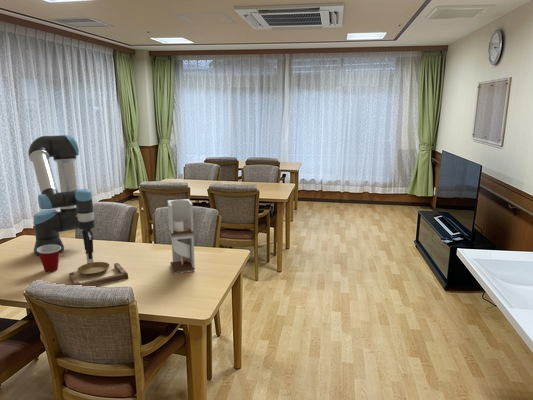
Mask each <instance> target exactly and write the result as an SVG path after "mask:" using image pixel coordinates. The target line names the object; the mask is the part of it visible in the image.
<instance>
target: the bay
mask: <svg viewBox="0 0 533 400" xmlns="http://www.w3.org/2000/svg"><path fill="white" fill-rule="evenodd" d="M113 266H114V267H113V268H114V270H115V271H117V274H113V275H109V276H104V277H100V278H96V279H91V280H87V281H82V282H80V281H79V279H78V278H77V276H76V274H75V273H74V272H68V278H69V280H70V281H71V284H72V286H73V285H82V286H95V287H98V286H103V285H106V284H110V283H116V282H120V281H123V280H127V279H129V273H128V272H127V271H126V270H125V269H124V268H123V266H122V265H121V264H120V263H119V262H114V263H113Z"/></svg>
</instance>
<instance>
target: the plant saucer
mask: <svg viewBox="0 0 533 400" xmlns="http://www.w3.org/2000/svg"><path fill="white" fill-rule="evenodd" d="M110 266H111V265H110V263H108V262H104V261H95V262H94V261H93V262H92V263H88V264H87V263H86V264H85V263H84V264H83V265H80V266H79V267H78V268H77V272H78V273H79V274H80V275H82V276H84V277H96V276H100V275H102V274H104V273H106V272H107V271H108V269H109V268H110Z"/></svg>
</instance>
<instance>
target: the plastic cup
mask: <svg viewBox="0 0 533 400" xmlns="http://www.w3.org/2000/svg"><path fill="white" fill-rule="evenodd" d="M60 249H61V246H59V245H44V246H40V247H39V248H37V249H36V250H37V252H38V254H39V256H38V257H39V259H40V261H41V264H42V268H43V270H44V272H45V273H53V272H56V271H58V269H59V263H60V262H59V261H60V253H61V252H60Z"/></svg>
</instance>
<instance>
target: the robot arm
mask: <svg viewBox="0 0 533 400" xmlns="http://www.w3.org/2000/svg"><path fill="white" fill-rule="evenodd" d="M27 155H28V158H29V161H30V162H32V165H33V168H34V172H35V173H34V174H35V177H36V180H37V183H38V187H39V191H40V194H38V195H37V201H38V202H37V203H38V207H39V209H40V210H41V211H39V212H36V213H35V214H34V216H32V219H33V220H32V221H33V223H32V224H33V226H34V227H33V228H34V236H35V241H34V242H35V244H34V247H33V254H34V255H35V256H38V257H40V256H39V254H38V252H37V250H36V249H37V248H39V247H40V246H44V245H59V246H61V249H60V253H62V252H64V251H65V244H64V243H63V240H62V239H61V237H60V233H63V232H68V231H74V230H76V231H77V230H82V231H81V233H82V238H83V246H84V251H85V252H84V253H85V255H86V264H88V263H92V262H94V256H93V253H94V236H93V231H91V229H93V228H95V226H96V225H95V213H94V205H93V194H92V190H91V189H88V188H82V189H81V188H80V189H78V185H77V175H76V168H75V161H76V160H77V157H78V156H79V155H80V150H79V146H78V142H77V140H76V138H75V137H74V136H73V135H67V134H66V135H65V134H64V135H60V134H59V135H42V136H38V137H37V138H36V139H34V140H33V141H32V142H31V143H30V146H29V148H28V154H27ZM50 158H53V161H54V162H56V164H57V165H56V166H57V172H58V179H59V181H58V182H59V188H60V192H59V191H58V187H57V184H56V181H55V177H54V174H53V170H52V166H51V163H50V160H49V159H50ZM57 208H58V209H59V210H60V211H58V210H56V209H57Z"/></svg>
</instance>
